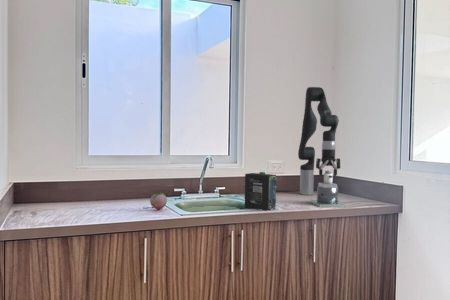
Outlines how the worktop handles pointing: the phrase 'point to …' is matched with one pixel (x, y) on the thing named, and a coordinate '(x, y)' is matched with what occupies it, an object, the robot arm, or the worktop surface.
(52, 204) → the worktop surface
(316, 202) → the motor
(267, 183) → the black labelled box
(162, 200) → the decorative fruit
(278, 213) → the worktop surface
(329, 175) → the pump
